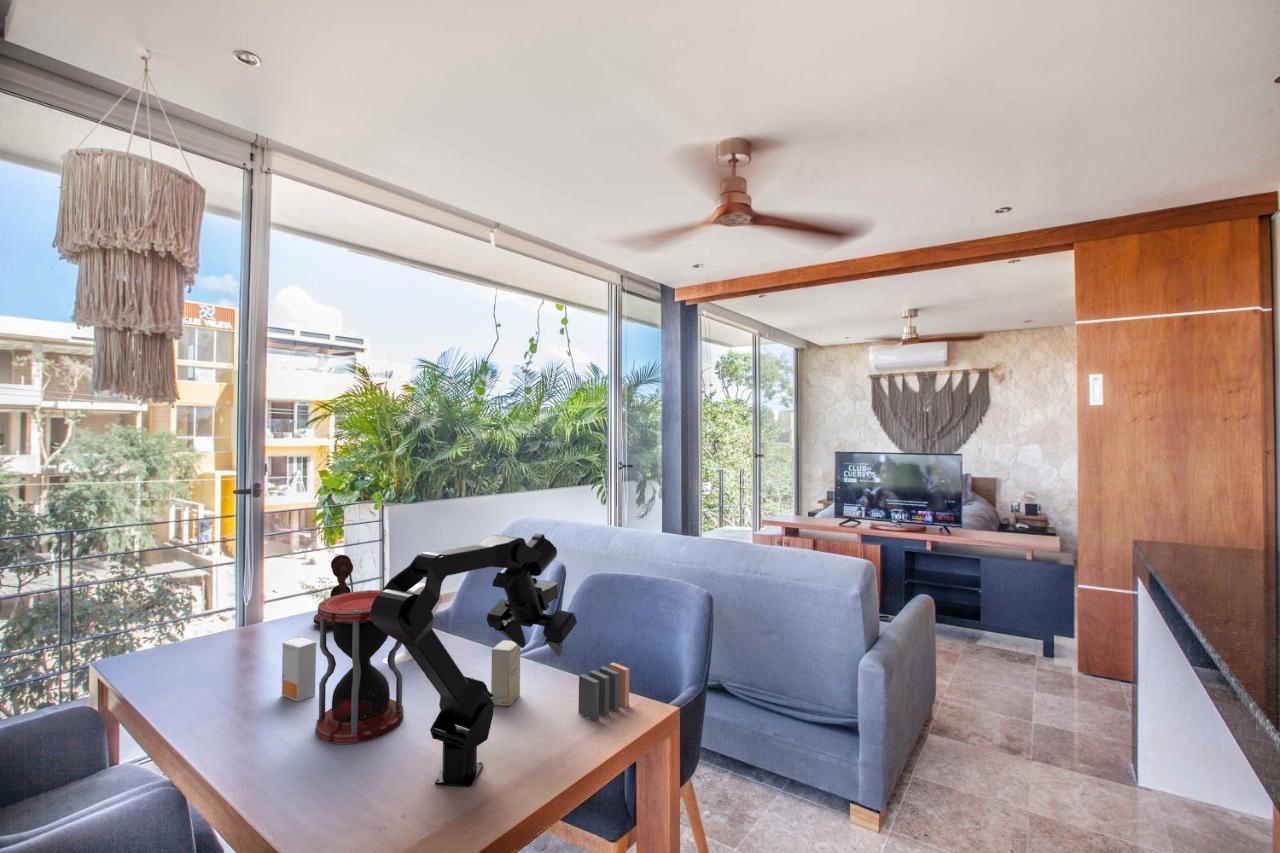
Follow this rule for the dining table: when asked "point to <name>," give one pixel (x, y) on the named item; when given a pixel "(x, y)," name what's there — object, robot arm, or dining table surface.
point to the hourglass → (357, 673)
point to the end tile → (622, 683)
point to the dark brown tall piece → (339, 580)
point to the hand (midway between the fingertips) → (541, 650)
